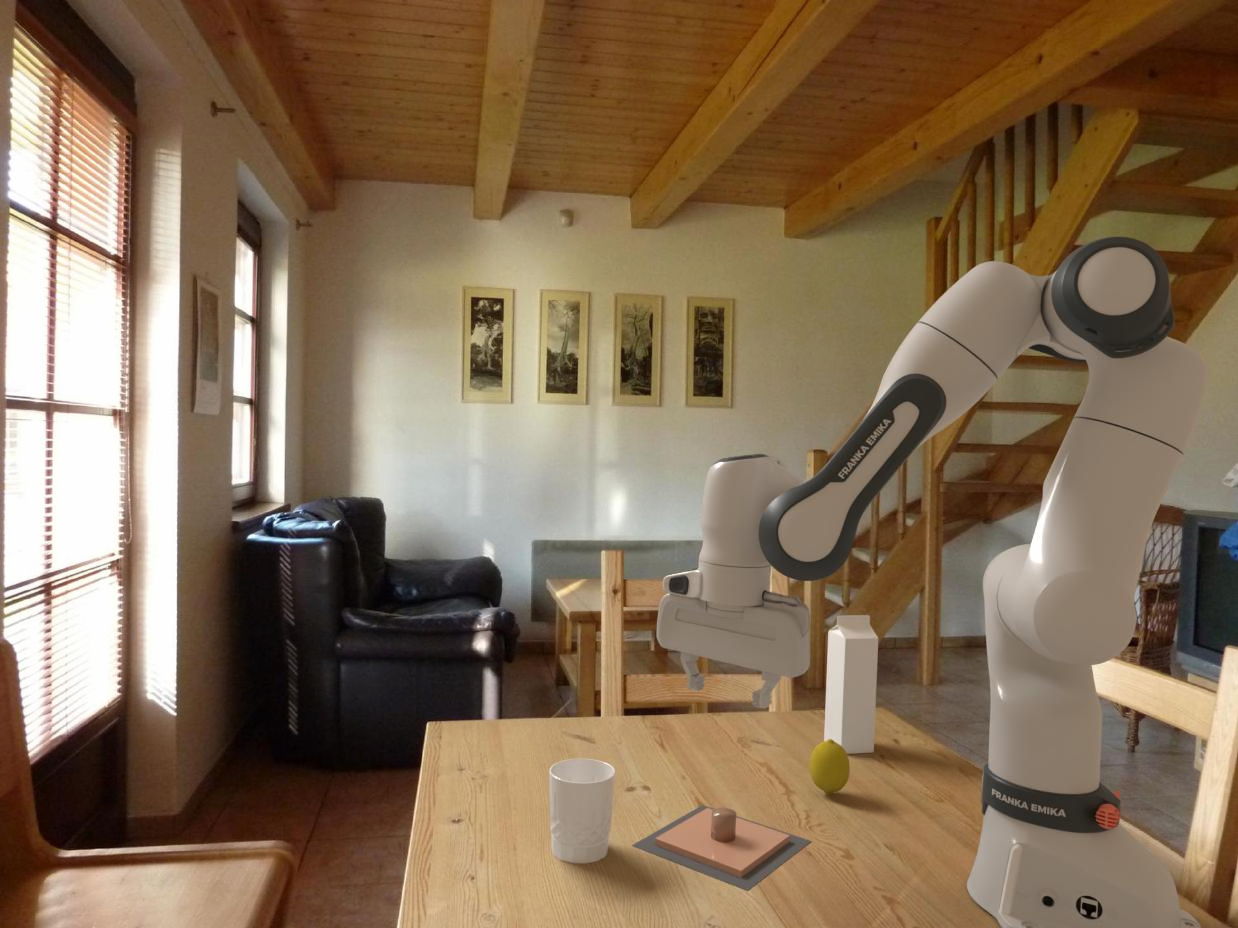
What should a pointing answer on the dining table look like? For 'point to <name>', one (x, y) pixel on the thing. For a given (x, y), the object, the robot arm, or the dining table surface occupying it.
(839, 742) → the milk
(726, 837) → the lid
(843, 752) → the lemon
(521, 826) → the dining table surface
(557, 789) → the white cup
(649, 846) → the mat
